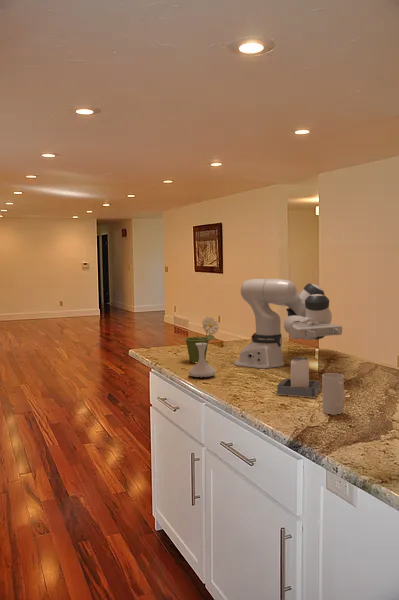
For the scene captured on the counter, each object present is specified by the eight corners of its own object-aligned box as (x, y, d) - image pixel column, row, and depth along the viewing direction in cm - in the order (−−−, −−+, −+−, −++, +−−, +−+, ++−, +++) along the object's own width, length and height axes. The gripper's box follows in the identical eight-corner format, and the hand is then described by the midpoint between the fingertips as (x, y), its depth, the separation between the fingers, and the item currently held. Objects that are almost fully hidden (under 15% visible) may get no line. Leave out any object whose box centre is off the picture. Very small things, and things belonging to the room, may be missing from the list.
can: (307, 393, 193) (307, 360, 192) (289, 392, 196) (289, 359, 195) (310, 389, 199) (310, 357, 198) (292, 388, 202) (292, 356, 201)
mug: (318, 410, 175) (318, 373, 174) (336, 408, 177) (336, 372, 176) (333, 419, 166) (333, 381, 165) (353, 417, 167) (353, 379, 166)
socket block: (275, 395, 194) (275, 386, 194) (283, 385, 207) (283, 378, 207) (314, 398, 189) (314, 389, 189) (321, 388, 202) (321, 380, 202)
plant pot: (214, 363, 251) (213, 339, 250) (190, 365, 247) (189, 341, 246) (204, 358, 262) (204, 335, 261) (181, 361, 258) (181, 337, 257)
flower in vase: (192, 380, 218) (191, 319, 216) (185, 374, 229) (184, 316, 227) (223, 378, 222) (222, 317, 220) (214, 372, 233) (214, 314, 231)
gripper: (331, 334, 222) (350, 339, 209) (286, 338, 215) (303, 343, 202) (331, 319, 221) (351, 323, 208) (286, 322, 215) (303, 327, 201)
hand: (327, 333), depth 205 cm, fingers open, 8 cm apart
